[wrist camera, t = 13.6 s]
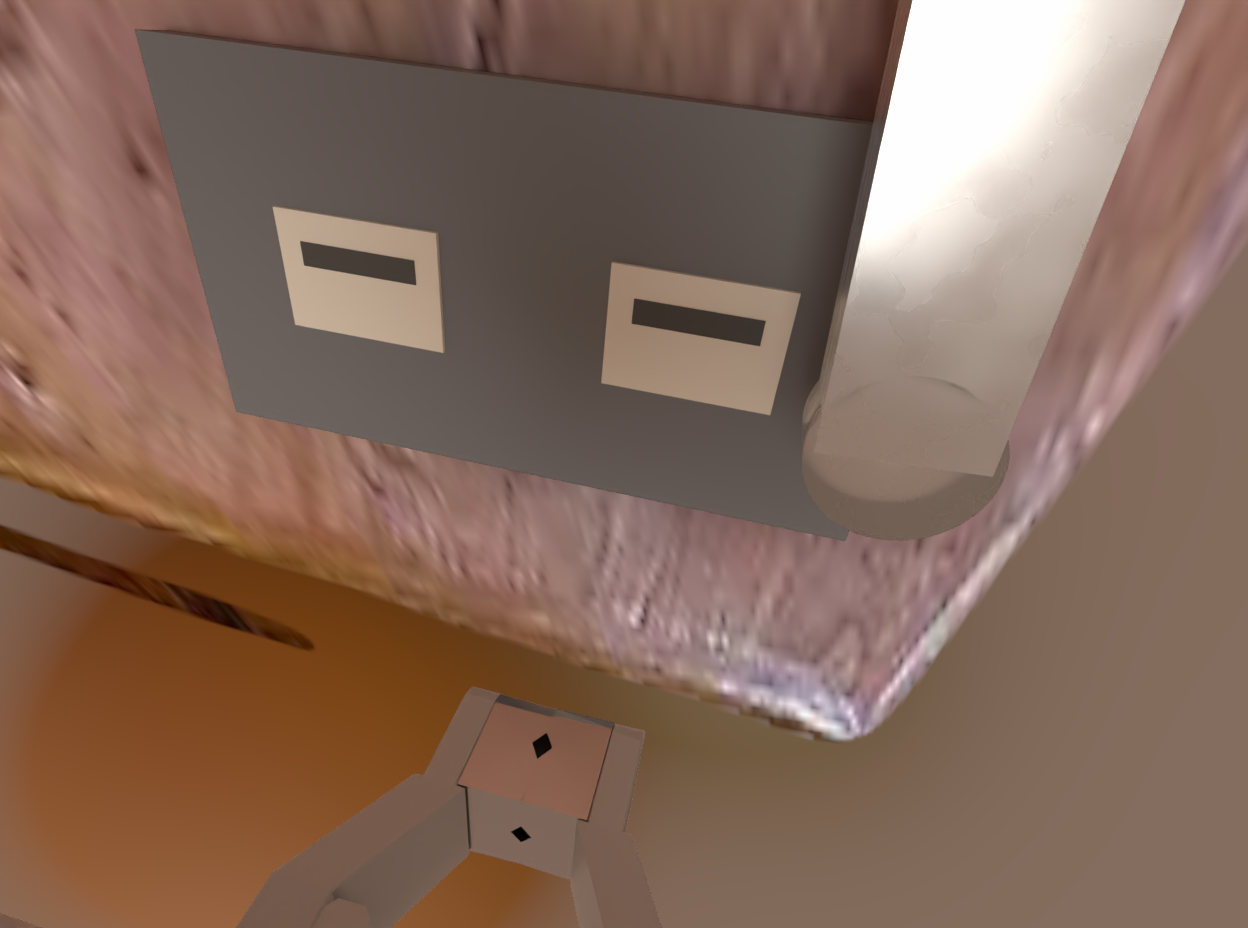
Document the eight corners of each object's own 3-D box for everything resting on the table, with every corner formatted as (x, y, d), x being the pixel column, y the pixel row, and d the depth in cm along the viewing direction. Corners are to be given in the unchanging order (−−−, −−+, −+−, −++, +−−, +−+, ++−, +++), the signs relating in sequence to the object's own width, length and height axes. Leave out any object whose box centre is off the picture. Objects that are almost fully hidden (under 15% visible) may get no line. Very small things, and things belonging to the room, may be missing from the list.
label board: (256, 398, 34) (182, 447, 30) (167, 30, 25) (43, 27, 21) (854, 523, 30) (863, 598, 26) (998, 137, 21) (1046, 160, 17)
